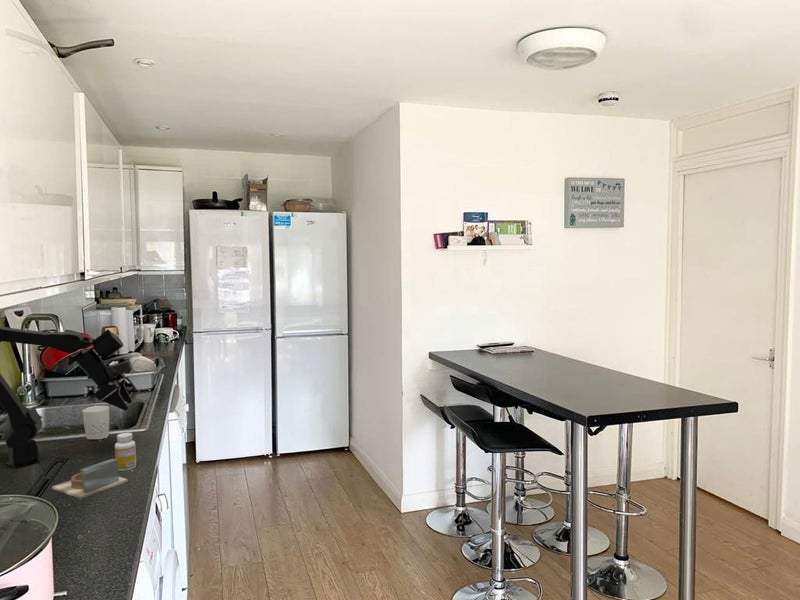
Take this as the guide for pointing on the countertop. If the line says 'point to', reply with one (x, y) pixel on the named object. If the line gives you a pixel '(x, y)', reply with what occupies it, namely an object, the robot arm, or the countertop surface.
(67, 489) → the seat dock
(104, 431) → the white cup
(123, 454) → the supplement bottle
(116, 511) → the countertop surface
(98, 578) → the countertop surface
